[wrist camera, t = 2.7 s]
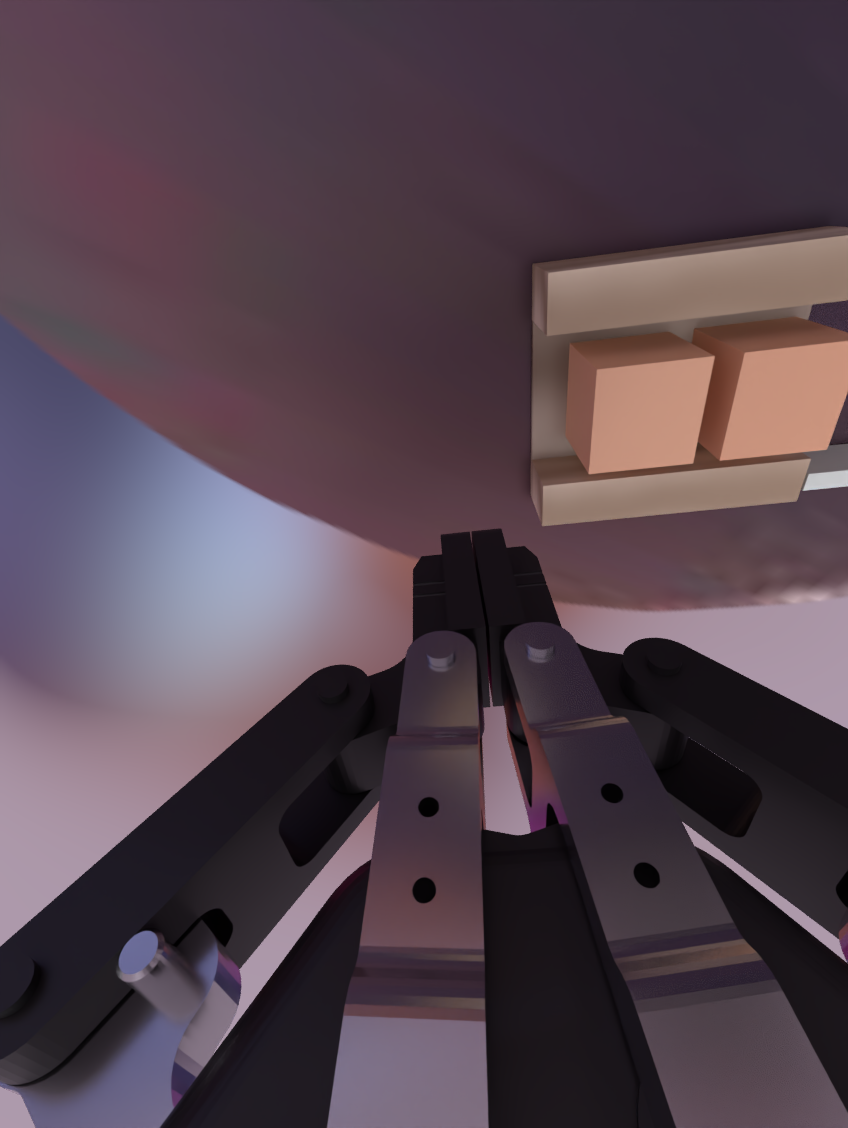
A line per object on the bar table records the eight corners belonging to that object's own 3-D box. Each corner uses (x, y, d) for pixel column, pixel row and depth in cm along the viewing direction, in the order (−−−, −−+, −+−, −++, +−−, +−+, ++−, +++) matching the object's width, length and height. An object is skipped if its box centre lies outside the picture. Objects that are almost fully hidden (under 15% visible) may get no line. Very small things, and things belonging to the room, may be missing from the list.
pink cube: (569, 343, 21) (597, 369, 18) (668, 331, 21) (714, 355, 18) (565, 435, 24) (588, 474, 20) (654, 426, 23) (693, 463, 20)
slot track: (532, 263, 20) (548, 272, 17) (830, 225, 19) (889, 229, 17) (530, 494, 26) (542, 526, 23) (759, 471, 25) (796, 501, 23)
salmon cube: (694, 328, 21) (744, 352, 18) (796, 316, 21) (866, 338, 18) (677, 423, 23) (719, 460, 20) (769, 414, 23) (827, 449, 20)
